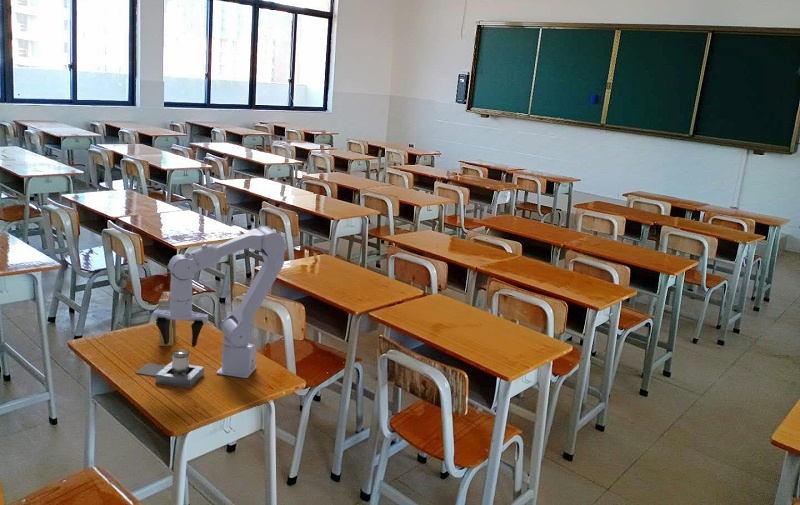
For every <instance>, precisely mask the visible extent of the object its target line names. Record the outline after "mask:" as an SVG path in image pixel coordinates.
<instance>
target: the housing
mask: <svg viewBox="0 0 800 505" xmlns="http://www.w3.org/2000/svg"><path fill="white" fill-rule="evenodd" d="M165 366H166V367H164V368H163V369H162V370H161V371H160V372H158V373H157V374H156V377H155V384H161V385H169V386H174V387H181V388H187V389H191V388H193V386H194V385H195V384H196V383H197V382H198V381H199V380H200V379H201V378H202V377H204V376H205V367H204V366H200V365H196V364H195V365H193V364H189V374H188V375H187V376H179V375H173V374H172V361H171V362H170V363H168V364H167V365H165Z"/></svg>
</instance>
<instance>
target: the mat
mask: <svg viewBox="0 0 800 505" xmlns="http://www.w3.org/2000/svg"><path fill="white" fill-rule="evenodd" d="M166 366H167V365H164V364H158V363H152V362H151V363H150V362H147V363H146V364H145V365H143V366H142V367H141V368H139V369H138V370H137V371H135V374H136V375H142V376H149V377H155V378H156V374H157V373H158V372H160V371H161V370H162V369H163V368H164V367H166Z"/></svg>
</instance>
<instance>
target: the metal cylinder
mask: <svg viewBox="0 0 800 505" xmlns="http://www.w3.org/2000/svg"><path fill="white" fill-rule="evenodd" d="M171 354H172V355H171V356H172V360H171V362H172V374H173V375H179V376H187V375H188V374H189V365H190V364H189V363H190V351H189V350H187V349H176V350H174V351H172V353H171Z"/></svg>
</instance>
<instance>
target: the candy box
mask: <svg viewBox="0 0 800 505" xmlns="http://www.w3.org/2000/svg"><path fill="white" fill-rule="evenodd" d="M158 310H170V291H163V292H162V294H161V296H160V298H159V300H158ZM176 337H177V320H172V319H170V326H169V343H168V344H167V345H165V344H164V340H163V337H162V334H161V332H160V330H159V346H160V347H172V346H173V345H174V342H175V340H176Z"/></svg>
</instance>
